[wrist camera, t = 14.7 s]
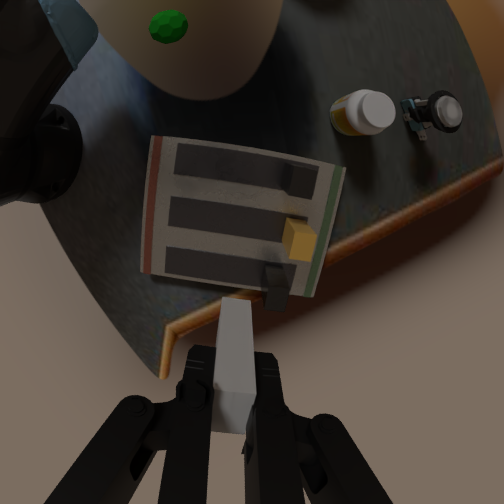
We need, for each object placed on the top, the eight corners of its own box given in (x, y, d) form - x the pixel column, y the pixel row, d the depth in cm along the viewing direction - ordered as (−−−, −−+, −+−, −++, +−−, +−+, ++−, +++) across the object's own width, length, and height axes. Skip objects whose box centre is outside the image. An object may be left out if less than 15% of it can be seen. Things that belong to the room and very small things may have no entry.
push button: (431, 134, 35) (474, 137, 25) (406, 145, 35) (448, 149, 26) (416, 93, 33) (457, 85, 23) (389, 102, 33) (429, 94, 24)
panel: (146, 263, 40) (124, 294, 31) (158, 135, 34) (132, 133, 25) (309, 287, 43) (324, 323, 34) (338, 165, 36) (367, 173, 28)
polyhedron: (195, 38, 30) (190, 25, 25) (161, 54, 30) (151, 43, 26) (182, 12, 28) (175, -2, 24) (149, 28, 29) (139, 16, 24)
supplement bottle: (359, 142, 35) (394, 142, 26) (324, 127, 35) (350, 122, 26) (370, 107, 34) (406, 99, 24) (335, 91, 33) (363, 76, 24)
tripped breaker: (281, 240, 36) (288, 258, 31) (286, 217, 35) (295, 231, 30) (300, 243, 36) (310, 261, 31) (305, 220, 35) (317, 235, 30)
